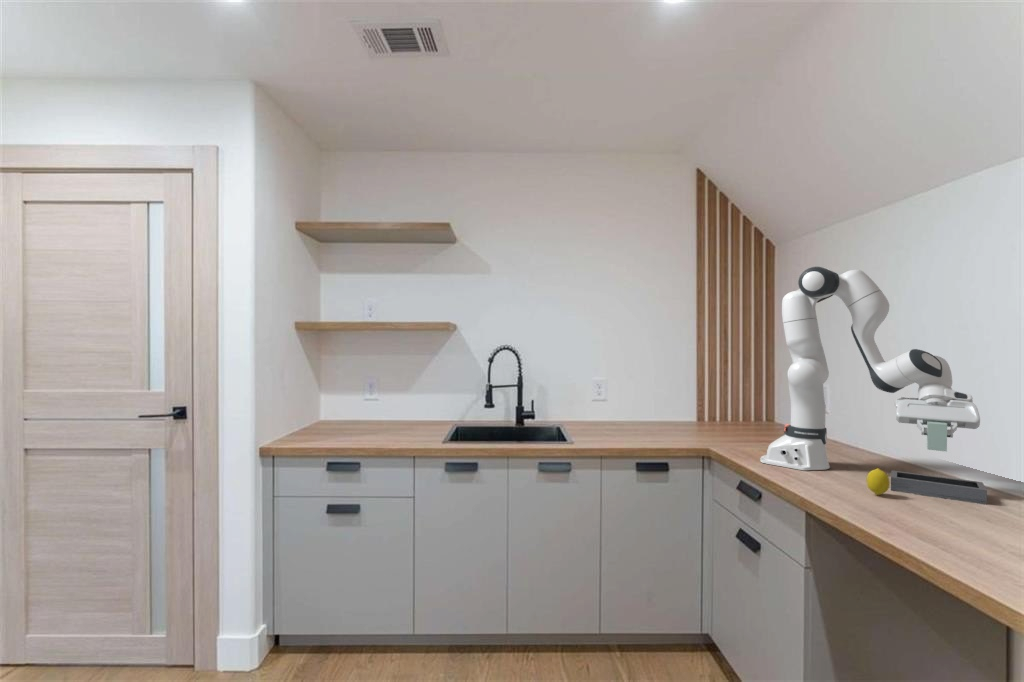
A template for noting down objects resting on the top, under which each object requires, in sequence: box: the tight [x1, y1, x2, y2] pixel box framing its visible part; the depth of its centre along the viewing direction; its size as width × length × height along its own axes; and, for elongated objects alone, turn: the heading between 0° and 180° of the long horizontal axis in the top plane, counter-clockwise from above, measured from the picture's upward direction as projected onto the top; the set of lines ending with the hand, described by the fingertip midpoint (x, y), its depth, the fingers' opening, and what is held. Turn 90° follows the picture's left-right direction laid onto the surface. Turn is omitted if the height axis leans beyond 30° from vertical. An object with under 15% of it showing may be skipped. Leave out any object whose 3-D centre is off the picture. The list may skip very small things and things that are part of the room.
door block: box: [926, 421, 948, 453], centre depth 160 cm, size 4×4×8 cm
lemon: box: [866, 467, 890, 496], centre depth 157 cm, size 6×6×8 cm
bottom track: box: [890, 470, 988, 505], centre depth 160 cm, size 22×10×4 cm, turn 54°
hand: (937, 435), depth 160 cm, fingers closed on door block, 4 cm apart
